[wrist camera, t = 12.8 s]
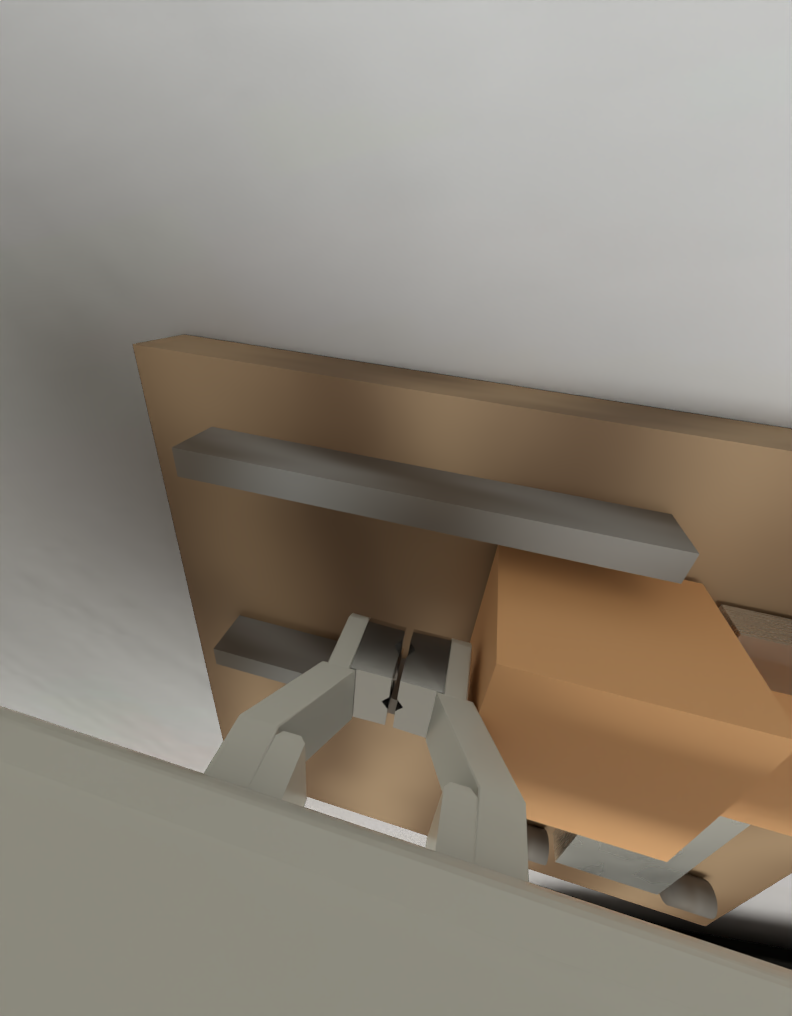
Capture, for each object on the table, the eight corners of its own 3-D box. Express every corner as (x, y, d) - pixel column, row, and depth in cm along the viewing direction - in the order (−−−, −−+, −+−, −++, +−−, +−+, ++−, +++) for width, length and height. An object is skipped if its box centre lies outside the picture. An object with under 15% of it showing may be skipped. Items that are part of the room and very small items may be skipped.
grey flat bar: (552, 833, 18) (555, 862, 17) (721, 604, 10) (740, 634, 9) (650, 863, 17) (657, 894, 16) (904, 644, 10) (942, 680, 9)
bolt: (463, 662, 13) (450, 795, 10) (499, 540, 11) (496, 663, 7) (880, 770, 12) (1035, 975, 8) (1044, 656, 9) (1371, 887, 6)
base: (249, 736, 24) (212, 803, 21) (183, 334, 12) (77, 354, 9) (688, 871, 20) (721, 977, 17) (1173, 488, 9) (1531, 602, 6)
